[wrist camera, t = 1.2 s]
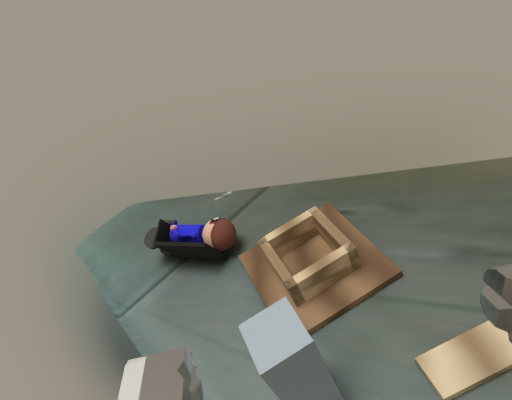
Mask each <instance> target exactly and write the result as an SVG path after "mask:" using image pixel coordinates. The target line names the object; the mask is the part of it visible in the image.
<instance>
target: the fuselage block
mask: <svg viewBox="0 0 512 400" xmlns="http://www.w3.org/2000/svg"><path fill="white" fill-rule="evenodd" d="M239 329H240V331H241V333H242V336H243V338H244V340H245V342H246V345H247V347H248V349H249V352H250V354H251V356H252V358H253V361H254V363H255V365H256V368H257V370H258V372H259V375H260V376H261V377H262V379H263V380H264V381H265V382H266V383H267V384H268V386H269V387H270V388H271V389H272V390H273V392H274V393H275V394H276V395H277V396H278V397H279V399H280V400H344V399H343V397H342V395H341V393H340V391H339V389H338V387H337V385H336V384H335V382H334V380H333V378H332V376H331V374H330V372H329V370H328V368H327V366H326V364H325V362H324V360H323V358H322V357H321V355H320V353H319V351H318V349H317V347H316V345H315V343H314V341H313V340H312V338H311V336H310V335H309V333H308V332H307V330H306V328H305V327H304V325H303V324H302V322H301V320H300V319H299V317H298V316H297V314H296V312H295V311H294V309H293V308H292V306H291V304H290V303H289V301H288V300H287V298H286V296H285V297H284V298H282V299H280V300H279V301H277V302H276V303H274V304H272V305H271V306H269V307H268V308H266V309H264V310H263V311H261V312H259V313H258V314H256V315H255V316H253V317H251V318H250V319H248V320H247V321H245V322H243V323H242V324H240V325H239Z"/></svg>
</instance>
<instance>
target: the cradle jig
mask: <svg viewBox="0 0 512 400" xmlns="http://www.w3.org/2000/svg"><path fill="white" fill-rule="evenodd" d="M257 242H258V245H256V246H254V247H253V248H251V249H249V250H248V251H246V252H244V253H243V254H241V255H239V258H240V260H241V262H242V264H243V266H244V267H245V269H246V271H247V273H248V275H249V276H250V278H251V280H252V282H253V284H254V286H255V287H256V289H257V291H258V293H259V295H260V297H261V298H262V300H263V302H264V304H265V306H266V308H268V307H269V306H271V305H272V304H274V303H276V302H277V301H279V300H280V299H282V298H284V297H285V296H286V298H287V300H288V301H289V303H290V304H291V306H292V308H293V309H294V311H295V312H296V314H297V316H298V317H299V319H300V320H301V322H302V324H303V325H304V327H305V328H306V330H307V332H308V333H309V335H310V334H312V333H314V332H315V331H317V330H318V329H320V328H321V327H323V326H325V325H326V324H328V323H329V322H331V321H332V320H334V319H335V318H337V317H339V316H340V315H342V314H343V313H345V312H346V311H348V310H350V309H351V308H353V307H354V306H356V305H357V304H359V303H361V302H362V301H364V300H365V299H367V298H368V297H370V296H372V295H373V294H375V293H376V292H378V291H379V290H381V289H382V288H384V287H386V286H387V285H389V284H390V283H392V282H393V281H395V280H397V279H398V278H400V277H401V276H403V275H402V270H401V269H399V268H398V267H397V266H396V265H395V264H394V263H393V262H392V261H391V260H390V259H389V258H388V257H386V256H385V255H384V254H383V253H382V252H381V251H380V250H379V249H378V248H377V247H376V246H375V245H374V244H372V243H371V242H370V241H369V240H368V239H367V238H366V237H365V236H364V235H363V234H362V233H361V232H360V231H358V230H357V229H356V228H355V227H354V226H353V225H352V224H351V223H350V222H349V221H348V220H347V219H346V218H344V217H343V216H342V215H341V214H340V213H339V212H338V211H337V210H336V209H335V208H334V207H333V206H332V205H330V204H329V203H326V204H325V205H323V206H321V207H320V208H317V207H316V206H314V207H313V208H311V209H309V210H308V211H306V212H304V213H303V214H301V215H299V216H298V217H296V218H294V219H293V220H291V221H289V222H287V223H286V224H284V225H282V226H281V227H279V228H277V229H276V230H274V231H272V232H271V233H269V234H267V235H266V236H264V237H262V238H261V239H259V240H257Z"/></svg>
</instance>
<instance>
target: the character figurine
mask: <svg viewBox="0 0 512 400" xmlns="http://www.w3.org/2000/svg"><path fill="white" fill-rule="evenodd" d="M158 223H159V224H158V228H157V227H155V228H152V229H150V230H149V231H148V232H147V234H146V236H145V239H144V242H145V245H146V246H147V247H149V248H151V249H156V248H159V249H160V251H161V252H162V253H164V254H166V255H174V256H177V257H179V258H191V259H211V260H228V256H226V255H225V254H223V253H221V252H220V251H224V250H227V249H228V248H230V247H231V246H232V245H233V243H234V242H235V239H236V230H235V227H234V225H233V224H232V223H231V222H230V221H229V220H227V219H225V218H214V219H212V220H210V221H209V222H207V223H206V225H177V221H176V220H162V219H160V220H159V222H158Z"/></svg>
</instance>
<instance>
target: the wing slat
mask: <svg viewBox="0 0 512 400" xmlns="http://www.w3.org/2000/svg"><path fill="white" fill-rule="evenodd" d="M415 363H416V364H417V366H418V367H419V369H420V370H421V371H422V373H423V374H424V376H425V377H426V379H427V380H428V381H429V383H430V384H431V386H432V387H433V388H434V390H435V391H436V393H437V394H438V396H439V397H440V398H441V400H451V399H453V398H455V397H457V396H459V395H461V394H463V393H465V392H467V391H469V390H471V389H473V388H475V387H477V386H478V385H480V384H482V383H484V382H486V381H488V380H490V379H492V378H494V377H496V376H498V375H500V374H502V373H504V372H506V371H508V370H510V369H512V343H511V342H510V341H509V337H508V332H506V331H503V330H501V329H499V328H496V327H495V326H494V325H493V324H492V323H491V322H490V321H487V322H485V323H483V324H481V325H479V326H477V327H475V328H473V329H471V330H469V331H467V332H465V333H463V334H461V335H459V336H457V337H455V338H453V339H451V340H449V341H447V342H445V343H443V344H441V345H439V346H437V347H436V348H434V349H432V350H430V351H428V352H426V353H424V354H422V355H420V356H418V357H416V358H415Z"/></svg>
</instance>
